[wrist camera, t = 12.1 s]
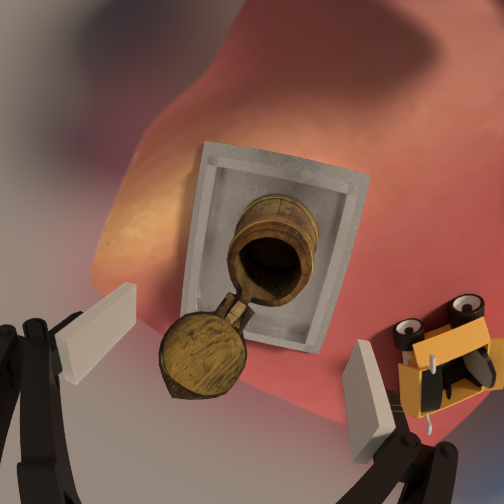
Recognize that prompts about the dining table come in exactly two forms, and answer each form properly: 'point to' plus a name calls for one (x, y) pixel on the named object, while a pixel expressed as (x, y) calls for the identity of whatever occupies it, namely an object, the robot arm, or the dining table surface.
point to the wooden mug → (241, 297)
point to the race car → (448, 359)
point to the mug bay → (224, 224)
